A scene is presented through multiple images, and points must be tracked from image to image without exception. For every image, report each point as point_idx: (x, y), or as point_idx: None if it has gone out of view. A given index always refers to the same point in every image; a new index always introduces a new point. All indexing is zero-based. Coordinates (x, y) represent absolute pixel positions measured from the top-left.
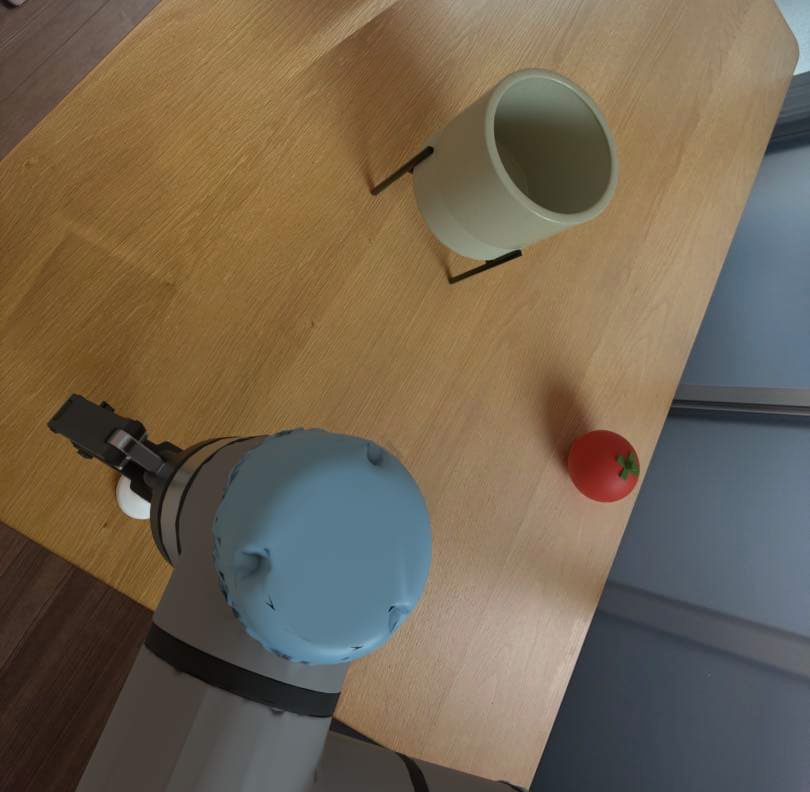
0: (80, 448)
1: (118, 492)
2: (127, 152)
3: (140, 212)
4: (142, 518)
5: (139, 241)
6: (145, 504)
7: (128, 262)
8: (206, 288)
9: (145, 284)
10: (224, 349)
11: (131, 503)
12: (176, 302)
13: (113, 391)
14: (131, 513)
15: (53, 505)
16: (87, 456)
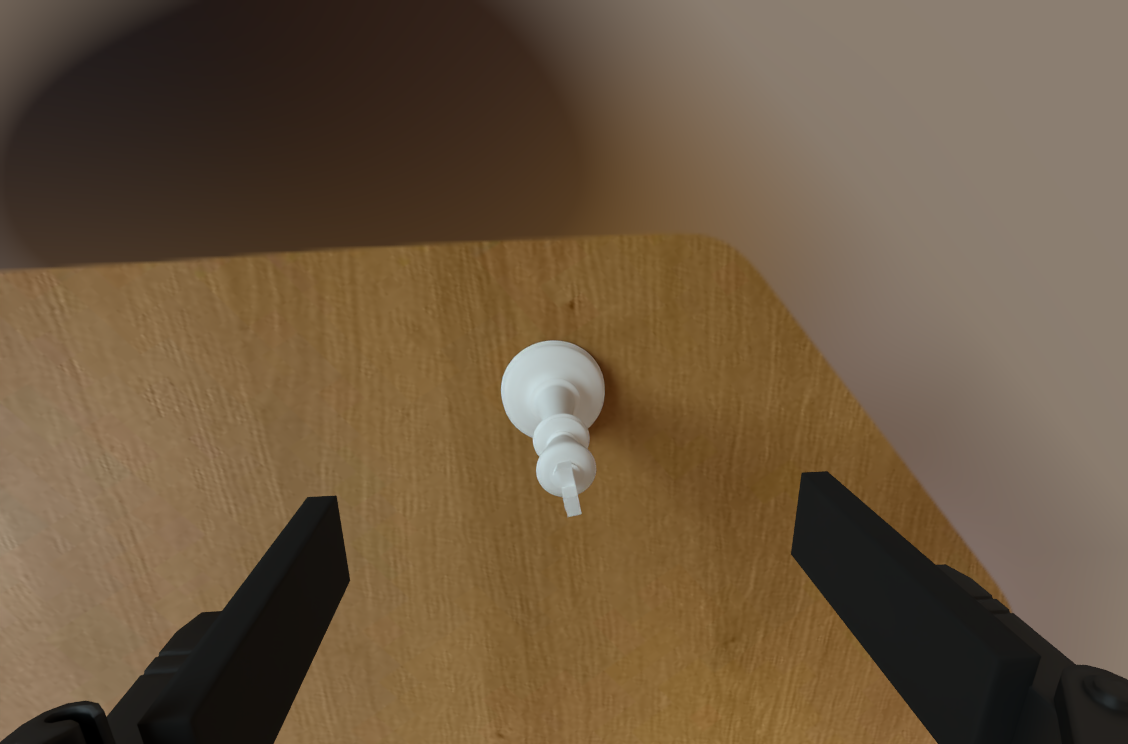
0: (1107, 704)
1: (593, 364)
2: (893, 724)
3: (830, 682)
4: (526, 353)
5: (807, 655)
6: (540, 378)
7: (802, 625)
8: (679, 670)
9: (762, 619)
10: (594, 625)
11: (563, 365)
12: (705, 629)
13: (703, 476)
14: (549, 349)
15: (670, 281)
16: (1011, 652)
